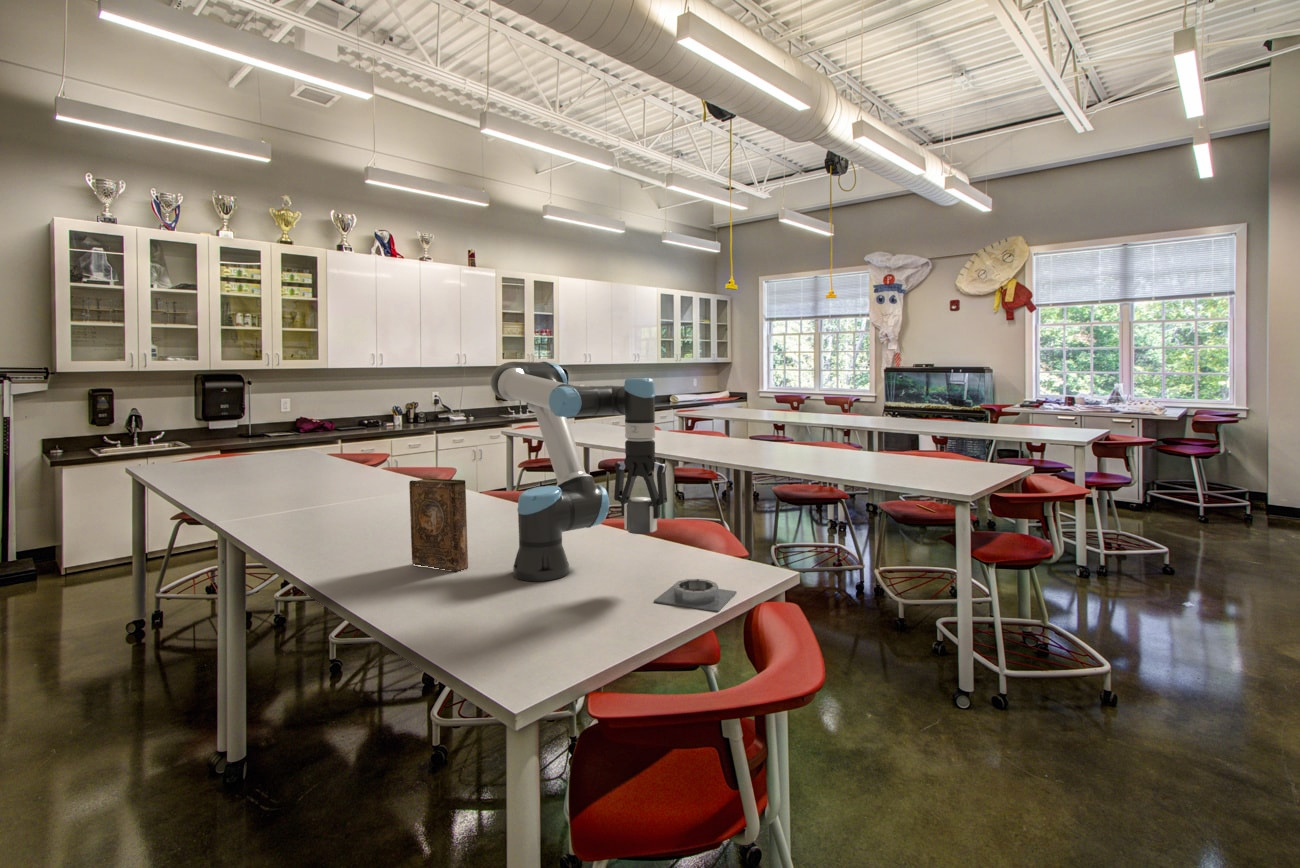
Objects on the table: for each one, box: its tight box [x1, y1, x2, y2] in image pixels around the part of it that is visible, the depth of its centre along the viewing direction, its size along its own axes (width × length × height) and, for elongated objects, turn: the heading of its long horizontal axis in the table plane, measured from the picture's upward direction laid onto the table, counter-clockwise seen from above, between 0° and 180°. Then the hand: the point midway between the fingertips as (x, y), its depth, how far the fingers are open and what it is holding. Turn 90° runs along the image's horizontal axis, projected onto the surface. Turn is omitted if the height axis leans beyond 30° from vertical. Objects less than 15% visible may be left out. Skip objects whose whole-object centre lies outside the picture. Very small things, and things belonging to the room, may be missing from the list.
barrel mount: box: [653, 578, 738, 613], centre depth 152 cm, size 16×14×3 cm
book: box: [408, 477, 469, 572], centre depth 179 cm, size 16×6×25 cm, turn 68°
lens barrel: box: [627, 496, 653, 535], centre depth 160 cm, size 6×6×8 cm
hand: (640, 529), depth 160 cm, fingers closed on lens barrel, 6 cm apart
